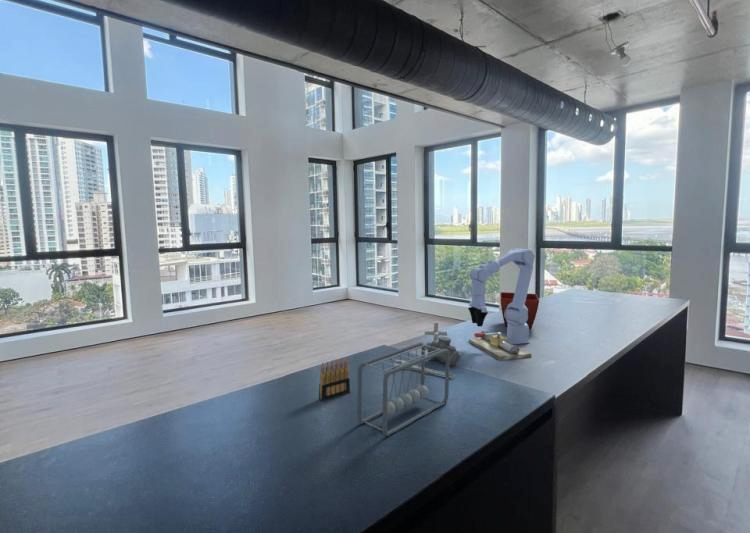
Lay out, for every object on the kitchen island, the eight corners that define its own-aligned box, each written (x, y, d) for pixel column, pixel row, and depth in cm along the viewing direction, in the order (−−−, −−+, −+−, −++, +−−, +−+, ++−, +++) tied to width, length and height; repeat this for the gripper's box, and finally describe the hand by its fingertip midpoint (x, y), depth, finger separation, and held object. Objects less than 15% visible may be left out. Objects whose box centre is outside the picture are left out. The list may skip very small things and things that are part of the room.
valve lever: (499, 334, 181) (499, 331, 181) (502, 335, 179) (502, 332, 179) (474, 336, 178) (474, 333, 178) (477, 337, 176) (477, 334, 175)
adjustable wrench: (455, 378, 147) (456, 374, 147) (447, 384, 142) (447, 379, 142) (399, 363, 162) (399, 358, 162) (389, 367, 157) (389, 363, 157)
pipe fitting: (424, 359, 164) (429, 335, 163) (437, 356, 170) (441, 333, 168) (448, 371, 156) (453, 345, 154) (460, 367, 161) (465, 343, 160)
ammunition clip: (321, 401, 126) (321, 364, 125) (318, 399, 128) (318, 362, 127) (350, 392, 133) (350, 357, 132) (346, 390, 134) (347, 355, 133)
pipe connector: (445, 341, 192) (446, 320, 191) (447, 347, 182) (448, 325, 181) (424, 340, 193) (424, 319, 192) (424, 346, 183) (425, 324, 182)
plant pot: (499, 329, 215) (500, 297, 213) (499, 320, 233) (500, 291, 231) (537, 332, 209) (539, 300, 207) (534, 323, 227) (536, 293, 225)
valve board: (496, 339, 195) (496, 336, 195) (531, 357, 170) (531, 353, 170) (468, 341, 191) (468, 338, 191) (499, 360, 166) (500, 356, 166)
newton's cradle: (421, 393, 133) (423, 340, 132) (448, 402, 126) (450, 347, 124) (356, 425, 112) (356, 363, 110) (384, 439, 105) (385, 373, 103)
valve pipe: (487, 338, 193) (488, 327, 192) (519, 355, 169) (520, 342, 169) (479, 339, 192) (479, 327, 191) (510, 356, 168) (511, 343, 167)
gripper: (463, 292, 187) (462, 320, 188) (476, 297, 172) (474, 329, 174) (478, 291, 188) (477, 320, 189) (491, 297, 173) (490, 328, 175)
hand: (477, 324), depth 182 cm, fingers open, 5 cm apart
